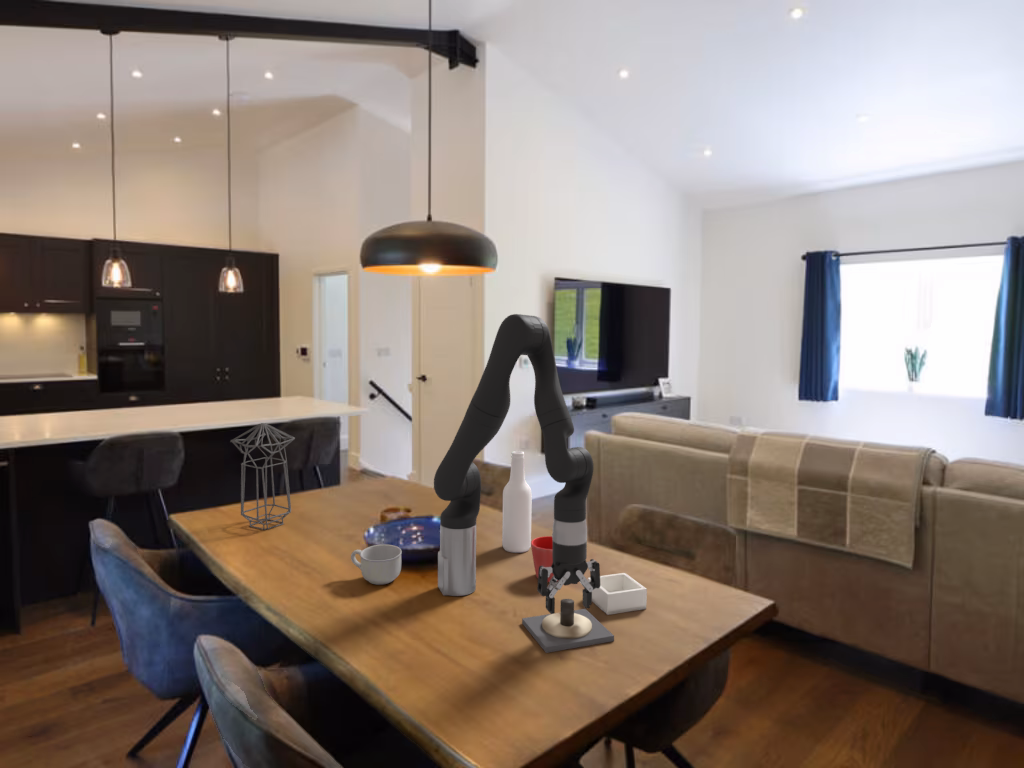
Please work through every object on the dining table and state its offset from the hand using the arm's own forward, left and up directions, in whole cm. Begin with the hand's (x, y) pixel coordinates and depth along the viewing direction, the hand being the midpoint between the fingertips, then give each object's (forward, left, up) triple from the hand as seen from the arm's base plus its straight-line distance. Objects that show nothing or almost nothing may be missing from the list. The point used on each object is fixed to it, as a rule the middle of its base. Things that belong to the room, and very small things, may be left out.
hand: (568, 609), depth 141 cm
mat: (0, 0, -5) cm, 5 cm away
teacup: (-36, +43, -5) cm, 57 cm away
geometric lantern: (-65, +100, -5) cm, 120 cm away
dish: (+18, +10, -5) cm, 21 cm away
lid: (0, 0, -4) cm, 4 cm away
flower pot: (+9, +30, -5) cm, 32 cm away
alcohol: (+8, +54, -5) cm, 55 cm away
